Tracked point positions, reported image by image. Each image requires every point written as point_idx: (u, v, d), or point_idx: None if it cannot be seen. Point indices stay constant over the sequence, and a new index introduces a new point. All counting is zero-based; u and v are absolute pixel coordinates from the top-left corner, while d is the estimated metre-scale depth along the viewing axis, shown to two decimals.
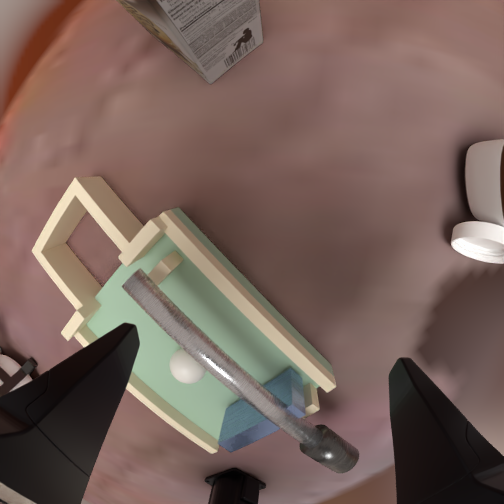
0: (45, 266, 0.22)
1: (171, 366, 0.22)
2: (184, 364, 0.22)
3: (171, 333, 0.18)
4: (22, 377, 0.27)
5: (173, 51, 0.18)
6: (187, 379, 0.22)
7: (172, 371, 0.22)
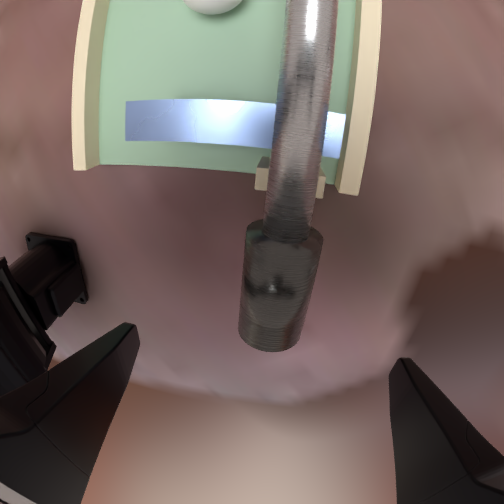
0: None
1: None
2: None
3: None
4: None
5: None
6: None
7: None
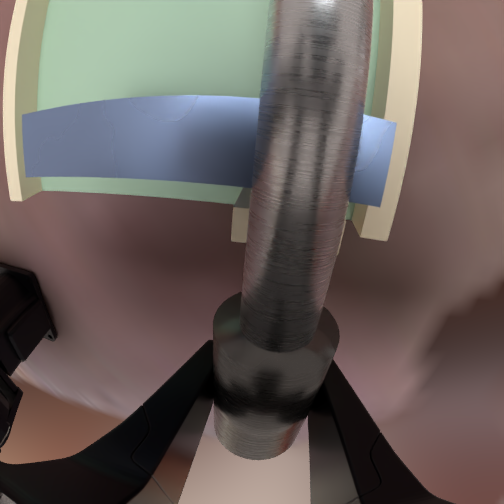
0: None
1: None
2: None
3: None
4: None
5: None
6: None
7: None
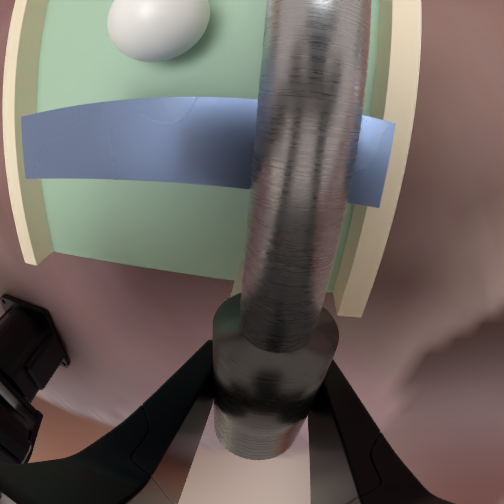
0: None
1: None
2: None
3: None
4: None
5: None
6: (133, 19, 0.05)
7: None
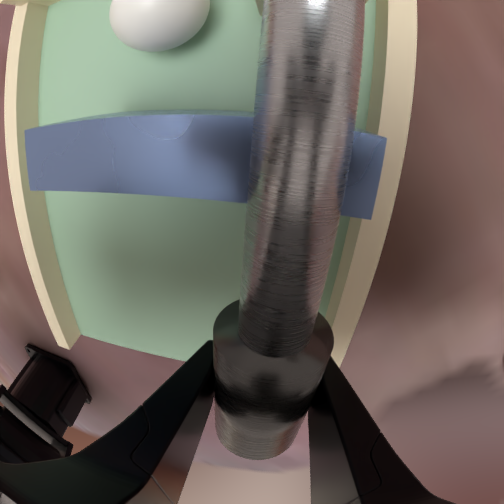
0: None
1: (142, 50, 0.07)
2: (184, 42, 0.07)
3: None
4: None
5: None
6: None
7: None
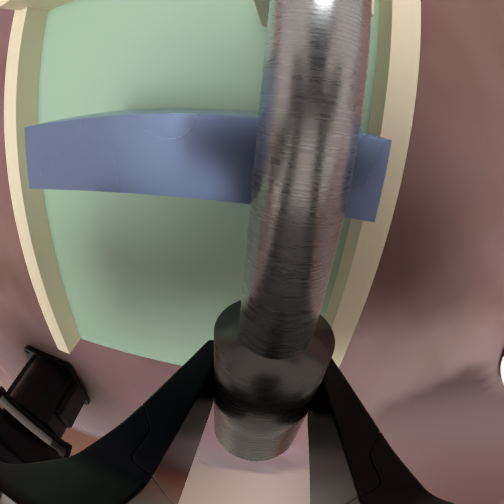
0: None
1: None
2: None
3: None
4: None
5: None
6: None
7: None
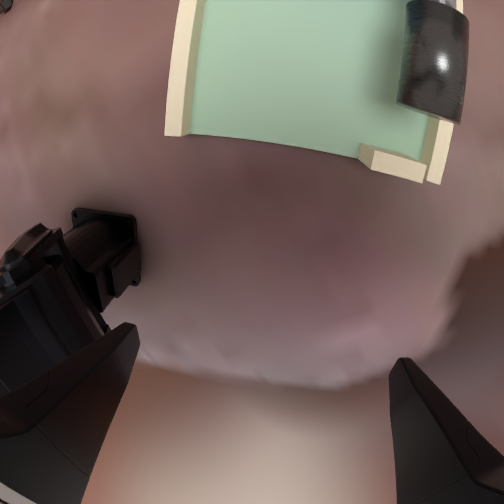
0: None
1: None
2: None
3: None
4: None
5: None
6: None
7: None
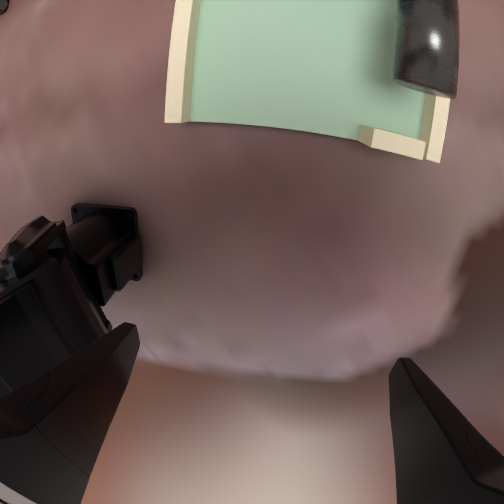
0: None
1: None
2: None
3: None
4: None
5: None
6: None
7: None
